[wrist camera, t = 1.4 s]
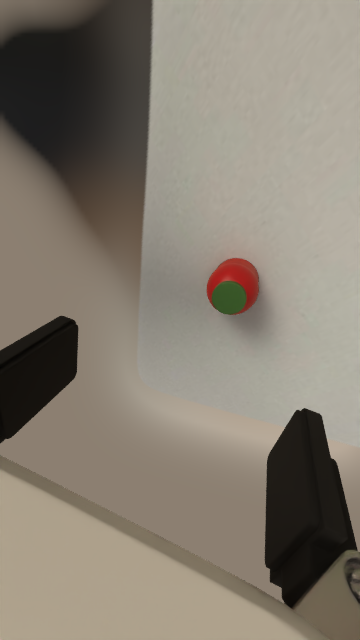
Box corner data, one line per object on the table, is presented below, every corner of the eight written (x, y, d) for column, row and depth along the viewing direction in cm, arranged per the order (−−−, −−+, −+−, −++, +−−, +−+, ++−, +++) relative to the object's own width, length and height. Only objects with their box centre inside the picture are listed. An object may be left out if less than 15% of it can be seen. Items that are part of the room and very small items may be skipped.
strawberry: (203, 278, 25) (190, 296, 21) (237, 246, 23) (230, 259, 19) (234, 310, 25) (227, 333, 21) (270, 281, 23) (269, 301, 19)
